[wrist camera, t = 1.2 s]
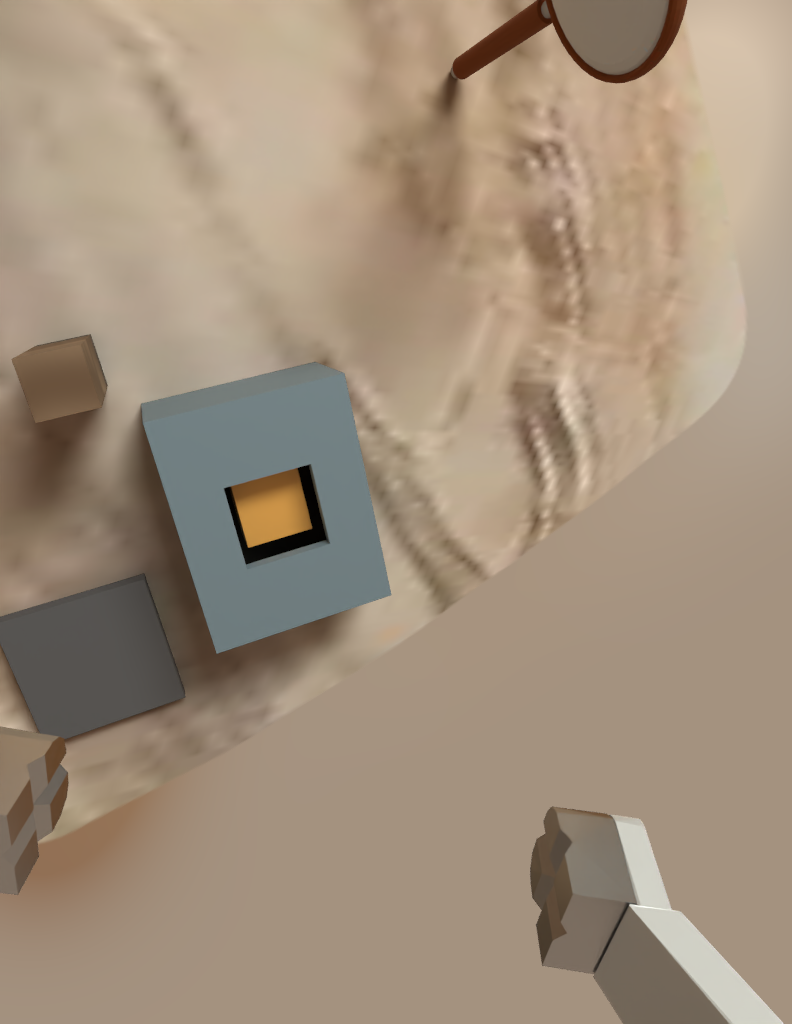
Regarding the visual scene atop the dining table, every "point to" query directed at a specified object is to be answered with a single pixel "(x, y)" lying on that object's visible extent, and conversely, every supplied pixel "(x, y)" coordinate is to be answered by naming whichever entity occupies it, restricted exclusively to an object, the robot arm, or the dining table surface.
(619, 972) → the robot arm
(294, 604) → the box
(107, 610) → the pad
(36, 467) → the dining table surface
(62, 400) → the upright wooden post
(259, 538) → the button
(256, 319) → the dining table surface
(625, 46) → the magnifying glass
